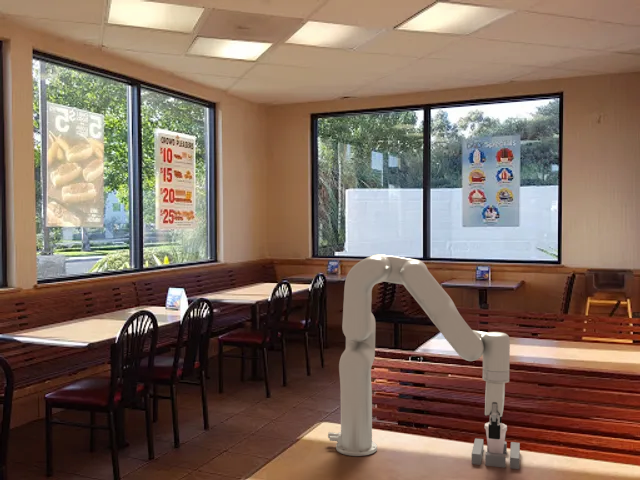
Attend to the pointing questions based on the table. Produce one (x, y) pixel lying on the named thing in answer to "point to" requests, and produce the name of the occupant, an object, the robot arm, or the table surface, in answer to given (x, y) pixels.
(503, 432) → the smoothie
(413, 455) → the table surface
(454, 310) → the robot arm
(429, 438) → the table surface
